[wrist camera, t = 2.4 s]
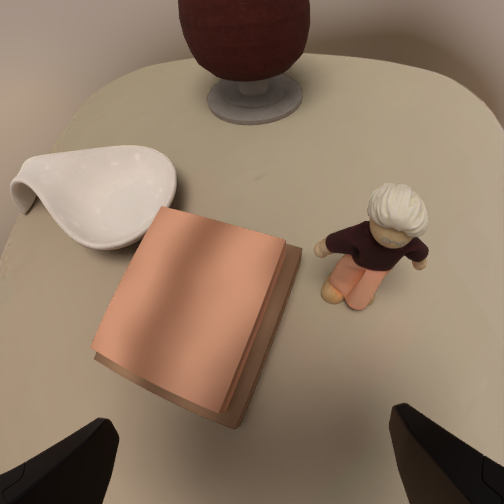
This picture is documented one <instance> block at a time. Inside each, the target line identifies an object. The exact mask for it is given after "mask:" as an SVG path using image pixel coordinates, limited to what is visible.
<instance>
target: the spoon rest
mask: <svg viewBox="0 0 504 504" xmlns="http://www.w3.org/2000/svg"><path fill="white" fill-rule="evenodd" d="M176 187H177V174H176V169H175V167H174V165H173V163H172V162H171V160H170V159H169V158H168V157H167V156H166V155H164V154H163V153H161V152H159V151H157V150H155V149H152V148H149V147H144V146H135V145H122V146H110V147H101V148H92V149H84V150H77V151H69V152H62V153H53V154H46V155H39V156H34V157H31V158H29V159H27V160H26V161H25V162H24V163H23V165H22V167H21V169H20V172H19V173H18V175H17V176H16V177H15V178H14V179H13V180H12V182H11V185H10V191H11V196H12V199H13V201H14V203H15V205H16V206H17V208H18V209H19V211H20V212H21V213H22V214H25V213H26V212H27V211H28V210H29V208H30V207H31V205H32V204H33V202H34V200H35V198H36V196H38V197H39V199H40V200H41V201H42V203H43V205H44V206H45V207H46V209H47V210H48V212H49V213H50V215H51V216H52V217H53V219H54V220H55V221H56V223H57V224H58V225H59V226H60V227H61V228H62V230H63V231H64V232H65V233H66V234H67V235H68V236H70V237H71V238H72V239H73V240H75V241H76V242H78V243H79V244H81V245H83V246H86V247H88V248H91V249H96V250H115V249H120V248H123V247H126V246H129V245H131V244H133V243H135V242H137V241H139V240H141V239H142V238H144V236H145V234H146V232H147V230H148V229H149V227H150V225H151V223H152V221H153V220H154V218H155V216H156V214H157V213H158V211H159V209H160V208H161V206H164V207H168V208H169V207H170V205H171V203H172V201H173V198H174V196H175V192H176Z"/></svg>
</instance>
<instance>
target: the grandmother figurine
mask: <svg viewBox="0 0 504 504" xmlns="http://www.w3.org/2000/svg"><path fill="white" fill-rule="evenodd" d="M367 213H368V215H369V217H370V221H364V222H362V223H360V224H358V225H355V226H352V227H349V228H346V229H343V230H340V231H338V232H335V233H332V234H330V235H328V236H327V238H325V239H323V240H322V241H321V242H319V243H317V244H316V245H315V247H314V253H315V255H316V256H317V257H320V258H323V257H326V256H327V255H329V254H332V253H343V254H345V255H344V256H343V257H342V258H341V260H340V261H339V262H338V263H337V264H336V266H335V268H334V270H333V272H332V273H331V274H330V275H329V276H328V278H327V280H326V281H325V283H324V285H323V287H322V289H321V296H322V298H323V299H324V300H325V301H327V302H329V303H332V304H337V303H340V302H341V301H342V300H343V299H344V297H345V300H346V302H347V304H348V305H349V306H350V307H351V308H353V309H355V310H362V309H364V308H365V307H366V306H368V305H370V304H371V303H372V302H373V301H374V298H375V292H376V290H377V288H378V286H379V285H380V283H381V282H382V280H383V278H384V277H385V276H386V274H387V273H388V272H389V271H390V270H391V269H392V268H393V267H394V266H395V264H396V263H397V262H398V261H399V260H400V259H401V258H402V257H403V256H404V255H405V256H406V257H407V258H409V259H410V260H412V264H413V266H414V268H415V269H417V270H422V269H424V268H425V267H426V264H427V262H426V257H427V255H428V252H429V250H428V247H427V246H426V245H425V244H424V243H423V242H422V241H421V240H420V239H419V238H418V237H419V236H421V235H423V234H424V233H425V232H426V230H427V228H428V215H427V212H426V208H425V205H424V203H423V201H422V200H421V198H420V197H419V196H418V195H417V194H416V193H415V192H414V191H413V190H412V189H411V188H410V187H409V186H407V185H405V184H393V183H385V184H384V185H383V186H381V187H380V188H377V189H376V190H374V191H373V192H372V194H371V197H370V200H369V205H368V209H367Z"/></svg>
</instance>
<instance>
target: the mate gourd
mask: <svg viewBox="0 0 504 504" xmlns="http://www.w3.org/2000/svg"><path fill="white" fill-rule="evenodd" d="M178 5H179V6H178V7H179V19H180V23H181V27H182V31H183V35H184V38H185V40H186V42H187V44H188V47H189V49H190V51H191V53H192V54H193V56H194V58H195V59H196V61H197V63H198V64H199V65H201V66H202V67H203V68H205V69H206V70H208V71H209V72H211V73H212V74H214V75H215V76H217V77H219V78H221V79H223V80H221V81H220V82H218V83H217V84H216V85H215V86H214V87H213V88H212V89H211V91H210V92H209V94H208V98H207V99H208V106H209V108H210V110H211V112H212V113H213V114H214V115H215V116H216V117H218V118H219V119H221V120H224V121H226V122H229V123H234V124H240V125H259V124H266V123H271V122H274V121H278V120H280V119H283V118H285V117H287V116H289V115H290V114H292V113H293V112H294V111H295V110H297V109H298V107H299V106H300V104H301V102H302V89H301V87H300V85H299V84H298V83H297V82H296V81H295V80H294V79H292V78H291V77H289V76H287V75H285V74H282V73H284V72H285V71H287V70H288V69H289V68H290V67H291V66H292V65H293V64H294V63H295V62H296V61H297V59H298V58H299V57H300V56H301V55H302V54H303V51H304V48H305V45H306V42H307V38H308V32H309V27H310V3H309V0H178Z"/></svg>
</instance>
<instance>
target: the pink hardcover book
mask: <svg viewBox="0 0 504 504" xmlns="http://www.w3.org/2000/svg"><path fill="white" fill-rule="evenodd" d="M301 255H302V248H299V247H296V246H292V245H289V244H286V240H284V239H280V238H277V237H273V236H270V235H266V234H263V233H259V232H256V231H252V230H249V229H245V228H241V227H238V226H234V225H231V224H227V223H223V222H220V221H216V220H212V219H209V218H205V217H201V216H198V215H194V214H190V213H186V212H183V211H179V210H175V209H171V208H168V207H164V206H161V208H160V209H159V211H158V213H157V214H156V216H155V218H154V220H153V221H152V223H151V225H150V227H149V229H148V230H147V232H146V234H145V236H144V238H143V239H142V241H141V243H140V245H139V247H138V249H137V250H136V252H135V254H134V256H133V258H132V260H131V262H130V264H129V266H128V268H127V270H126V272H125V273H124V275H123V277H122V279H121V281H120V283H119V285H118V288H117V290H116V292H115V294H114V296H113V298H112V300H111V302H110V304H109V306H108V308H107V310H106V313H105V315H104V317H103V319H102V321H101V324H100V326H99V328H98V330H97V333H96V335H95V337H94V339H93V342H92V344H91V346H90V348H92V349H93V350H95V351H97V352H96V355H95V357H94V359H95V360H96V361H98V362H100V363H101V364H103V365H104V366H106V367H108V368H109V369H111V370H113V371H114V372H116V373H118V374H120V375H121V376H123V377H125V378H126V379H128V380H130V381H132V382H134V383H135V384H137V385H139V386H141V387H143V388H145V389H146V390H148V391H150V392H152V393H154V394H156V395H158V396H160V397H162V398H164V399H166V400H168V401H170V402H172V403H174V404H176V405H178V406H180V407H183V408H185V409H187V410H189V411H191V412H193V413H196V414H198V415H200V416H203V417H205V418H207V419H210V420H212V421H214V422H217V423H219V424H222V425H224V426H227V427H229V428H232V429H234V430H235V429H236V428H237V427H239V426H240V424H241V421H242V419H243V416H244V414H245V412H246V409H247V407H248V404H249V402H250V399H251V397H252V394H253V392H254V389H255V387H256V384H257V381H258V379H259V376H260V374H261V371H262V369H263V366H264V363H265V361H266V358H267V355H268V353H269V350H270V347H271V345H272V342H273V339H274V337H275V334H276V331H277V328H278V326H279V323H280V320H281V317H282V315H283V312H284V309H285V306H286V303H287V300H288V298H289V295H290V292H291V289H292V286H293V283H294V280H295V277H296V274H297V271H298V269H299V266H300V263H301Z"/></svg>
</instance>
